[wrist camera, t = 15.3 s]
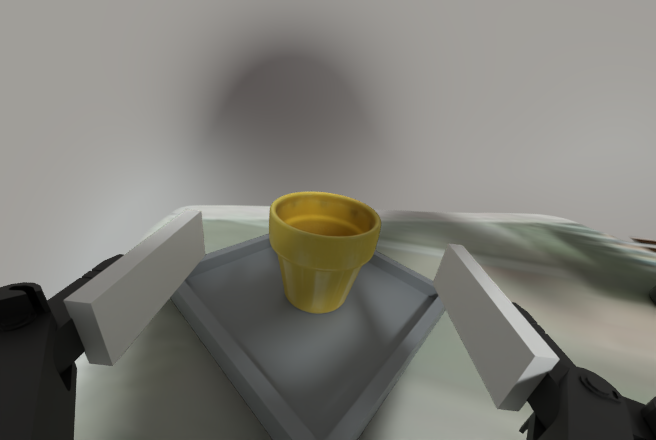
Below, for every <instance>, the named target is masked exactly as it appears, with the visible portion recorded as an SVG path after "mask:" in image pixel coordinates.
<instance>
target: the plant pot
mask: <svg viewBox="0 0 656 440" xmlns="http://www.w3.org/2000/svg"><path fill="white" fill-rule="evenodd" d="M380 228H381V219H380V217H379V215H378V214H377V213H376V212H375V211H374V210H373V209H372V208H371V207H369V206H368V205H366V204H364V203H362V202H360V201H358V200H355V199H352V198H349V197H346V196H342V195H337V194H332V193H325V192H297V193H291V194H287V195H284V196H282V197H280V198H278V199H276V200H275V201H274V202H273V203H272V205H271V207H270V216H269V240H270V244H271V246H272V248H273V250H274V251H275V252H276V253H277V254H278V259H279V264H280V269H281V274H282V280H283V285H284V291H285V295H286V297H287V299H288V300H289V302H290V303H291V304H292V305H293V306H295V307H296V308H298V309H300V310H302V311H305V312H308V313H314V314H323V313H328V312H331V311H334V310H336V309H338V308H339V307H340V306H341V305H342V304H343V303H344V301H345V299H346V297H347V295H348V293H349V291H350V289H351V287H352V285H353V283H354V281H355V279H356V277H357V275H358V273H359V271H360V269H361V267H362V266H363V265H364V264H366V263H367V262H368V261H369V260H370V259H371V258H372V256H373V254H374V251H375V248H376V245H377V241H378V237H379V233H380Z"/></svg>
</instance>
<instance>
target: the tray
mask: <svg viewBox="0 0 656 440" xmlns="http://www.w3.org/2000/svg"><path fill="white" fill-rule="evenodd" d="M170 298H171V300H172V301H173V302H174V304H175V305H176V307H177V308H178V309H179V311H180V312H181V313H182V315H183V316H184V318H185V319H186V320H187V322H188V323H189V324H190V326H191V327H192V329H193V330H194V331H195V333H196V334H197V336H198V337H199V338H200V340H201V341H202V342H203V344H204V345H205V347H206V348H207V349H208V351H209V352H210V354H211V355H212V356H213V358H214V359H215V360H216V362H217V363H218V365H219V366H220V367H221V369H222V370H223V372H224V373H225V374H226V376H227V377H228V378H229V380H230V381H231V383H232V384H233V385H234V387H235V388H236V389H237V391H238V392H239V394H240V395H241V396H242V398H243V399H244V401H245V402H246V403H247V405H248V406H249V407H250V409H251V410H252V412H253V413H254V414H255V416H256V417H257V419H258V420H259V421H260V423H261V424H262V425H263V427H264V428H265V430H266V431H267V432H268V434H269V435H270V436H271V438H272V439H273V440H357V439H358V438H359V436H360V435H361V433H362V432H363V430H364V429H365V428H366V426H367V425H368V423H369V422H370V420H371V419H372V417H373V416H374V414H375V413H376V411H377V410H378V408H379V407H380V405H381V404H382V403H383V401H384V400H385V398H386V397H387V395H388V394H389V392H390V391H391V389H392V388H393V386H394V385H395V383H396V382H397V380H398V379H399V378H400V376H401V375H402V373H403V372H404V370H405V369H406V367H407V366H408V364H409V363H410V361H411V360H412V358H413V357H414V355H415V354H416V353H417V351H418V350H419V348H420V347H421V345H422V344H423V342H424V341H425V339H426V338H427V336H428V335H429V333H430V332H431V330H432V329H433V328H434V326H435V325H436V323H437V322H438V320H439V319H440V317H441V316H442V314H443V313H444V311H445V310H446V309H445V307H444V305H443V303H442V301H441V299H440V297H439V295H438V293H437V291H436V290H435V288H434V286H433V281H432V280H430V279H428V278H426V277H424V276H422V275H421V274H419V273H417V272H415V271H413V270H411V269H409V268H407V267H405V266H404V265H402V264H400V263H398V262H396V261H394V260H392V259H390V258H389V257H387V256H385V255H383V254H381V253H379V252H377V251H374V254H373V256H372V258H371V259H370V260H369V261H368V262H367V263H366V264H364V265H363V266H362V267H361V269H360V271H359V273H358V275H357V277H356V279H355V281H354V283H353V285H352V287H351V289H350V291H349V293H348V295H347V297H346V299H345V301H344V303H343V304H342V305H341V306H340V307H339V308H338V309H336V310H334V311H331V312H328V313H323V314H314V313H308V312H305V311H302V310H300V309H298V308H296V307H295V306H293V305H292V304H291V303H290V302H289V300H288V299H287V297H286V295H285V291H284V285H283V280H282V274H281V269H280V264H279V259H278V254H277V253H276V252H275V251H274V250H273V248H272V246H271V244H270V240H269V234H266V235H263V236H260V237H257V238H254V239H251V240H248V241H245V242H242V243H239V244H236V245H233V246H230V247H227V248H224V249H221V250H218V251H215V252H212V253H208V254H205V256H204V257H203V259H202V260H201V261H200V262H199V263H198V265H197V266H196V267H195V268H194V269H193V271H192V272H191V273H190V274H189V275H188V277H187V278H186V279H185V280H184V281H183V283H182V284H181V285H180V286H179V287H178V289H177V290H176V291H175V292H174V293H173V295H172V296H171V297H170Z"/></svg>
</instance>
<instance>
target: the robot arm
mask: <svg viewBox="0 0 656 440" xmlns="http://www.w3.org/2000/svg"><path fill="white" fill-rule="evenodd" d="M204 256H205V246H204V235H203V224H202V213H201V211H198V210H190V209H186V210H184V211H183V212H182V213H180V214H179V215H178V216H176V217H175V218H174V219H172V220H171V221H170V222H168V223H167V224H165V225H164V226H163V227H161V228H160V229H159V230H157V231H156V232H155V233H153V234H152V235H151V236H149V237H148V238H147V239H145V240H144V241H143V242H141V243H140V244H139V245H137V246H136V247H134V248H133V249H132V250H131V251H129V252H128V253H126V254H125V255H122V254H119V255H116V256H114V257H112V258H109V259H107V260H105V261H103V262H102V263H100V264H99V265H97V266H96V267H95V268H93V269H92V271H89V272H88V273H86V274H84V275H83V276H82V278H79V279H77V280H76V281H75V282H73V283H72V284H70V285H69V286H67V287H66V288H65V289H63V290H62V291H60V292H59V293H57V294H56V295H55V296H53V297H52V298H50V299H49V300H46V297H45V295H44V293H43V291H42V289H41V286H40V285H38V284H35V283H17V284H11V285H7V286H3V287H0V440H74V421H75V400H76V378H77V367H76V364H75V362H74V361H75V360H76V359H77V358H78V357H79V356H80V355H81V354H82V353H83V352H84V351H85V354H86V356H87V359H88V361H89V363H90V364H99V365H108V366H113V365H114V364H115V363H116V362H117V361H118V359H119V358H120V357H121V356H122V355H123V353H124V352H125V351H126V350H127V349H128V347H129V346H130V345H131V344H132V343H133V341H134V340H135V339H136V338H137V337H138V335H139V334H140V333H141V332H142V331H143V329H144V328H145V327H146V326H147V325H148V323H149V322H150V321H151V320H152V319H153V317H154V316H155V315H156V314H157V313H158V311H159V310H160V309H161V308H162V307H163V305H164V304H165V303H166V302H167V301H168V299H169V298H170V297H171V296H172V295H173V293H174V292H175V291H176V290H177V289H178V287H179V286H180V285H181V284H182V283H183V281H184V280H185V279H186V278H187V277H188V275H189V274H190V273H191V272H192V271H193V269H194V268H195V267H196V266H197V265H198V263H199V262H200V261H201V260H202V259H203V257H204ZM433 286H434V288H435V290H436V291H437V293H438V295H439V297H440V299H441V301H442V303H443V305H444V307H445V309H446V311H447V313H448V315H449V317H450V319H451V320H452V322H453V324H454V326H455V328H456V330H457V332H458V334H459V336H460V338H461V340H462V342H463V344H464V346H465V348H466V349H467V351H468V353H469V355H470V357H471V359H472V361H473V363H474V365H475V367H476V369H477V371H478V373H479V375H480V377H481V378H482V380H483V382H484V384H485V386H486V388H487V390H488V392H489V394H490V396H491V398H492V400H493V402H494V404H495V406H496V407H497V409H502V410H511V411H519V410H520V409H521V408H522V407H523V405H524V404H525V403H526V401H528V403H529V404H530V406H531V407H532V409H533V411H534V412H533V413H532V415H531V416H530V417H529V418H528V419H527V421H526V422H525V423H524V424H523V425H522V427H521V428H520V430H519V431H520V432H521V433H524V432H525V431H526V429H528V432H527V440H656V397H654V398H653V399H652V400H651V401H650V402H649V403H647V404H646V405H645V404H642V403H639V402H637V401H634V400H631V399H629V398H626V397H623V396H622V395H621V394H620V393H619V392H618V391H617V390H616V389H615V388H614V387H613V386H612V385H611V384H610V383H608V382H607V381H606V380H605V379H603V378H602V377H600V376H598V375H597V374H595V373H593V372H591V371H589V370H587V369H584V368H580V367H576V366H575V365H574V363H573V362H572V361H571V360H570V359H569V358H568V357H567V356H566V355H565V353H564V352H563V351H562V350H561V349H560V348H559V347H558V346H557V344H556V343H555V342H554V341H553V340H552V339H551V338H550V337H549V335H548V334H545V331H544V330H543V329H542V328H541V327H540V325H537V322H536V321H535V320H534V319H533V318H532V316H531V315H530V314H529V313H528V312H527V311H525V310H524V309H523V308H521V307H520V306H519V305H517V304H516V303H513V302H511V301H510V300H509V299H508V298H507V297H506V296H505V294H504V293H503V292H502V291H501V290H500V289H499V287H498V286H497V285H496V284H495V283H494V282H493V280H492V279H491V278H490V277H489V276H488V275H487V273H486V272H485V271H484V270H483V269H482V268H481V266H480V265H479V264H478V263H477V262H476V260H475V259H474V258H473V257H472V256H471V255H470V253H469V252H468V251H467V250H466V249H465V248H464V246H463V245H458V244H450V243H448V245H447V248H446V250H445V253H444V256H443V258H442V261H441V263H440V266H439V268H438V271H437V274H436V276H435V279H434V281H433ZM650 296H651V298H652V300H653V301H654V302H655V303H656V286H655V287H654V288H653V289H652V290H651V291H650Z"/></svg>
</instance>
